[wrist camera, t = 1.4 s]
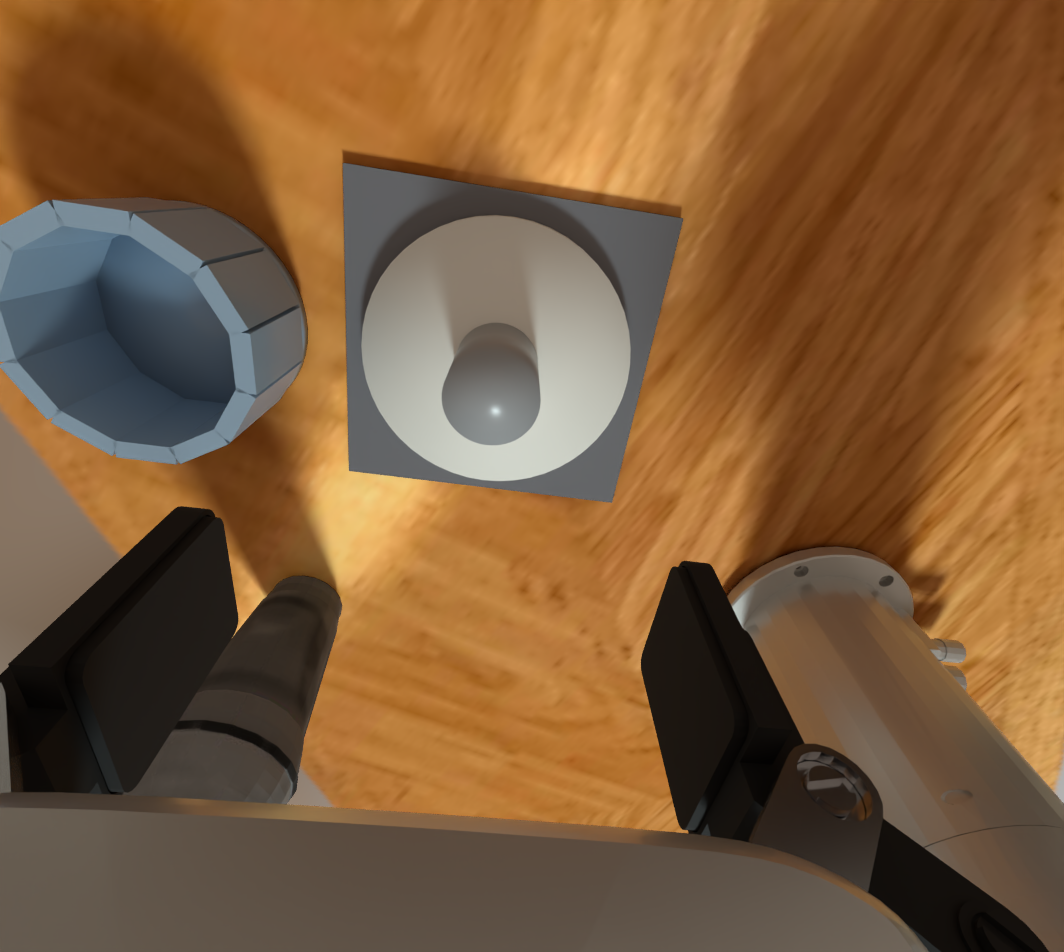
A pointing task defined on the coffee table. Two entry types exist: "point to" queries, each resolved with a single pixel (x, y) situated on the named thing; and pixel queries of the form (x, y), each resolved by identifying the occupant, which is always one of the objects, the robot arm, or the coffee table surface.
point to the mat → (427, 203)
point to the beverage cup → (253, 704)
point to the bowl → (146, 323)
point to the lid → (496, 348)
